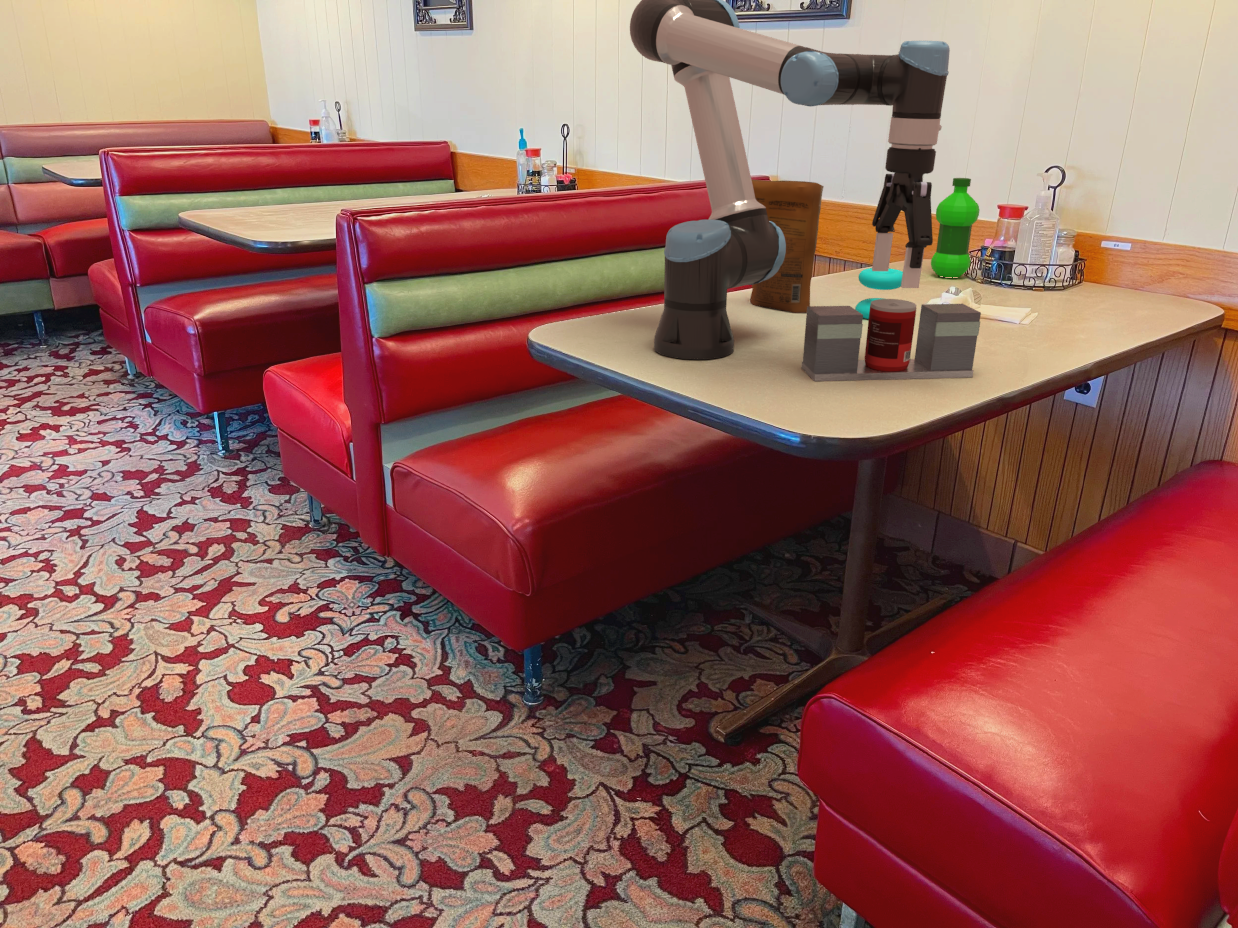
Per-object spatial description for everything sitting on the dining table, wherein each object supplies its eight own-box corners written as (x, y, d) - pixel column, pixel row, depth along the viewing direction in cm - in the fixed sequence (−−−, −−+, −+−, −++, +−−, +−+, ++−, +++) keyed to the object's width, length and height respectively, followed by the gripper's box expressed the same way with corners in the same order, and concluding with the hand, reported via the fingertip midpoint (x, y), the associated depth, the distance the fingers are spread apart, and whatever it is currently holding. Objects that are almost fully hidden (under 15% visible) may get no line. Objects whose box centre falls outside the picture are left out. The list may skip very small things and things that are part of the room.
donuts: (906, 267, 202) (908, 276, 193) (900, 313, 206) (902, 323, 197) (859, 265, 204) (859, 274, 195) (854, 310, 208) (854, 320, 199)
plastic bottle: (941, 272, 252) (954, 176, 243) (977, 277, 245) (991, 179, 235) (920, 276, 246) (932, 178, 237) (956, 282, 239) (970, 181, 229)
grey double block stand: (814, 381, 158) (819, 316, 153) (801, 368, 165) (806, 305, 161) (972, 377, 160) (982, 313, 156) (952, 364, 168) (961, 303, 163)
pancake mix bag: (804, 317, 202) (815, 183, 191) (734, 304, 214) (740, 177, 203) (821, 312, 206) (832, 181, 196) (751, 299, 218) (758, 175, 208)
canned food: (900, 359, 166) (908, 298, 162) (915, 372, 159) (923, 308, 154) (858, 359, 166) (864, 298, 162) (871, 372, 158) (878, 308, 154)
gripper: (969, 153, 137) (946, 295, 146) (905, 141, 160) (888, 264, 168) (920, 152, 137) (900, 295, 145) (863, 140, 159) (848, 264, 168)
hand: (894, 279), depth 157 cm, fingers open, 13 cm apart
